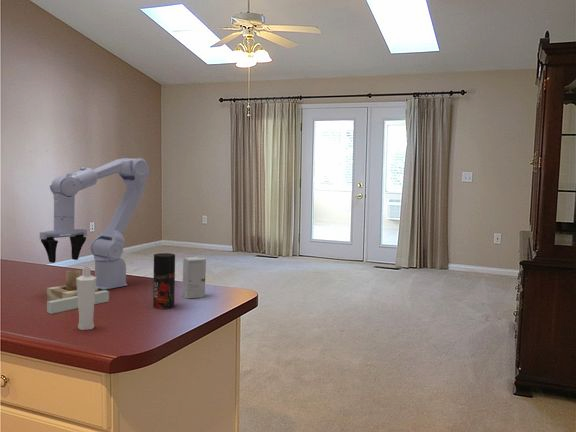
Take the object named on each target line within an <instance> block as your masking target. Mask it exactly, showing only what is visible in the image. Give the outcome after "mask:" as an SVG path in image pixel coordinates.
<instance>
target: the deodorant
mask: <svg viewBox="0 0 576 432" xmlns="http://www.w3.org/2000/svg"><path fill="white" fill-rule="evenodd" d="M175 281H176V254H174V253H170V252H169V253H168V252H161V253H160V252H159V253H155V254H153V283H152V284H153V287H152V289H153V290H152V296H153V297H152V298H153V299H152V301H153V302H152V306H153V308H154V309H158V310H168V309H169V310H170V309H172V308H174V307H175V293H176V292H175V290H176V289H175V287H176V285H175V284H176V283H175Z"/></svg>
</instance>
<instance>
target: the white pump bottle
mask: <svg viewBox="0 0 576 432" xmlns="http://www.w3.org/2000/svg"><path fill="white" fill-rule="evenodd" d="M91 268H92V266H83V267H81V270H82V271H81V276H80V277H78V278H76V282H77V296H78V308H77V309H78V319H79V320H78V325H77V329H79V330H81V331H84V330H85V331H86V330H93V329H94V328H95V324H94V323H95V321H94V311H95V305H94V301H95V288H96V277H95V275H92V274H91V272H92V271H91Z"/></svg>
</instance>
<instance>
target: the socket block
mask: <svg viewBox="0 0 576 432" xmlns="http://www.w3.org/2000/svg"><path fill="white" fill-rule="evenodd" d="M98 291H99V289H98V288H97V287H96V288H95V292H98ZM73 296H77V290H73V291H67V290H66V284H63V285H56V286H51V287H47V288H46V302H47V301H52V300H58V299H63V298H68V297H73Z"/></svg>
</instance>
